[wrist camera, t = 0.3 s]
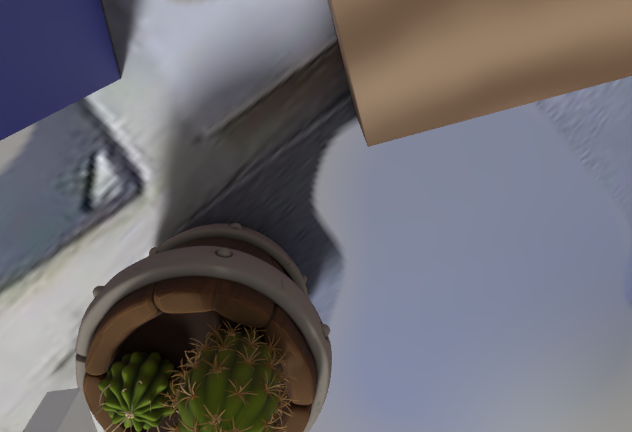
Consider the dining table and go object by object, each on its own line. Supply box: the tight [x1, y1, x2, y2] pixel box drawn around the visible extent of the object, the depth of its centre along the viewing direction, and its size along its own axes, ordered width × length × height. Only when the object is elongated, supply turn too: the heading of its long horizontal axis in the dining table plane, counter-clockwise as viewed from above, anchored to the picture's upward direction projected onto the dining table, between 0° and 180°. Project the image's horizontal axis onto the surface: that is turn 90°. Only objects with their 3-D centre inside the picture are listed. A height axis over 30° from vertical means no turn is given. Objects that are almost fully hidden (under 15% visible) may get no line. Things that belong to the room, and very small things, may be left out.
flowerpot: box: [75, 223, 332, 432], centre depth 33 cm, size 15×15×20 cm
